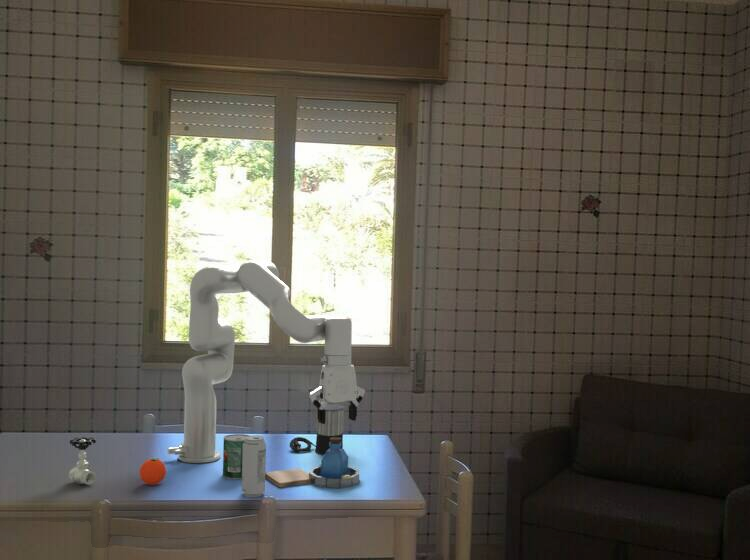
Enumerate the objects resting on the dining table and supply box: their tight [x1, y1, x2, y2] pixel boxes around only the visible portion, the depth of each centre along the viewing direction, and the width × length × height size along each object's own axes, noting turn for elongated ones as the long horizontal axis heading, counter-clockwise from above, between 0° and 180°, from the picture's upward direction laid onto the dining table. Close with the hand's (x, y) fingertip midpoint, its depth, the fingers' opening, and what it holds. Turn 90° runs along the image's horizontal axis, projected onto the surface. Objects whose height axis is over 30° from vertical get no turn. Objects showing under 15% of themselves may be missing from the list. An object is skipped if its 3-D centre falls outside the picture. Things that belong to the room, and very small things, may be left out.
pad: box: [265, 467, 312, 488], centre depth 211 cm, size 11×11×1 cm
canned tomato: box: [222, 433, 250, 480], centre depth 213 cm, size 8×8×11 cm
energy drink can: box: [241, 435, 267, 498], centre depth 196 cm, size 6×6×15 cm
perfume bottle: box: [320, 437, 349, 478], centre depth 211 cm, size 6×6×12 cm
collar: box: [308, 463, 360, 489], centre depth 211 cm, size 14×14×3 cm
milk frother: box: [289, 403, 345, 456], centre depth 242 cm, size 14×16×15 cm
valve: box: [68, 436, 97, 486], centre depth 201 cm, size 7×7×12 cm
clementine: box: [139, 457, 167, 486], centre depth 203 cm, size 8×7×7 cm
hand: (337, 421), depth 210 cm, fingers open, 9 cm apart
